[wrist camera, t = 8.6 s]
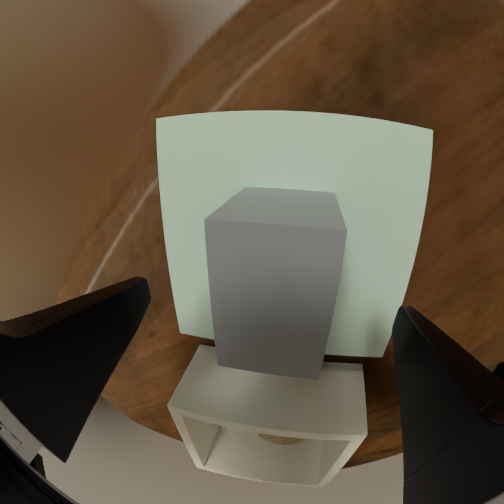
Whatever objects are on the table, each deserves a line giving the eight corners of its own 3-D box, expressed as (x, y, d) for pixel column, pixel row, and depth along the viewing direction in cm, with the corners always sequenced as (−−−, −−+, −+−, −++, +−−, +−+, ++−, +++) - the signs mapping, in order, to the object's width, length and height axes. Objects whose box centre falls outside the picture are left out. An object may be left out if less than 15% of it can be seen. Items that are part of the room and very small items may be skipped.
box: (362, 363, 17) (367, 434, 12) (329, 437, 22) (324, 487, 17) (199, 344, 19) (167, 405, 14) (215, 421, 24) (197, 467, 19)
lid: (417, 130, 11) (495, 134, 5) (377, 336, 16) (392, 423, 10) (174, 119, 13) (83, 120, 7) (191, 315, 19) (144, 387, 13)
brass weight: (311, 395, 18) (308, 427, 16) (305, 418, 20) (301, 446, 17) (265, 390, 19) (257, 421, 16) (263, 412, 21) (256, 441, 18)
